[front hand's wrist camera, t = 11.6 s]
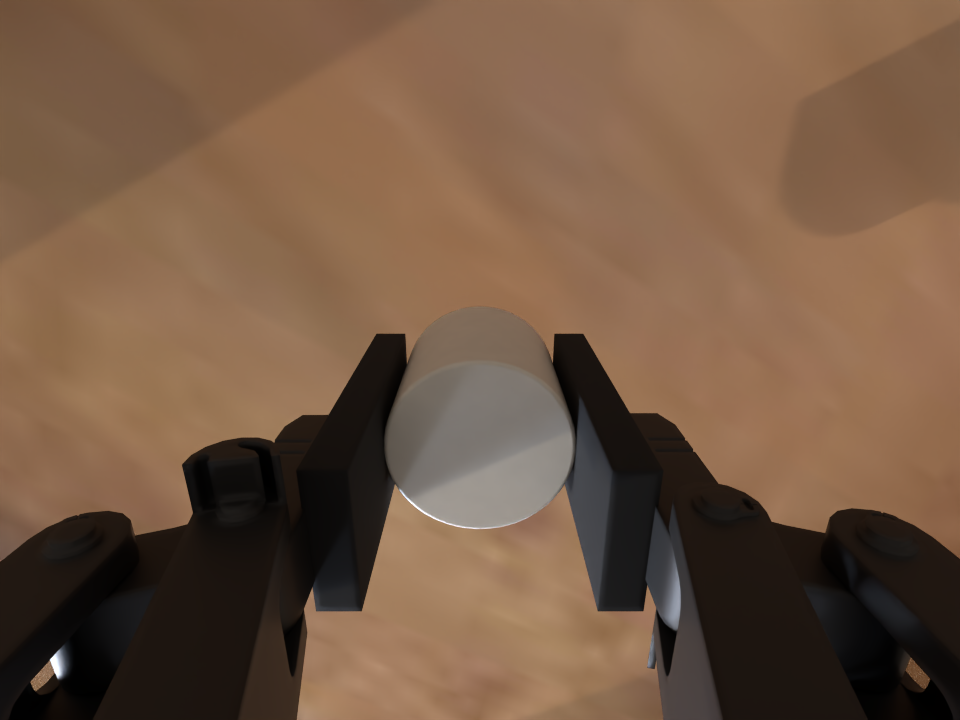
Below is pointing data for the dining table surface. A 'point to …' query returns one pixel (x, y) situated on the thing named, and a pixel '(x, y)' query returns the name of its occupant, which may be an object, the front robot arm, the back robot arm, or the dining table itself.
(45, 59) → the dining table surface
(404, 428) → the cylinder
